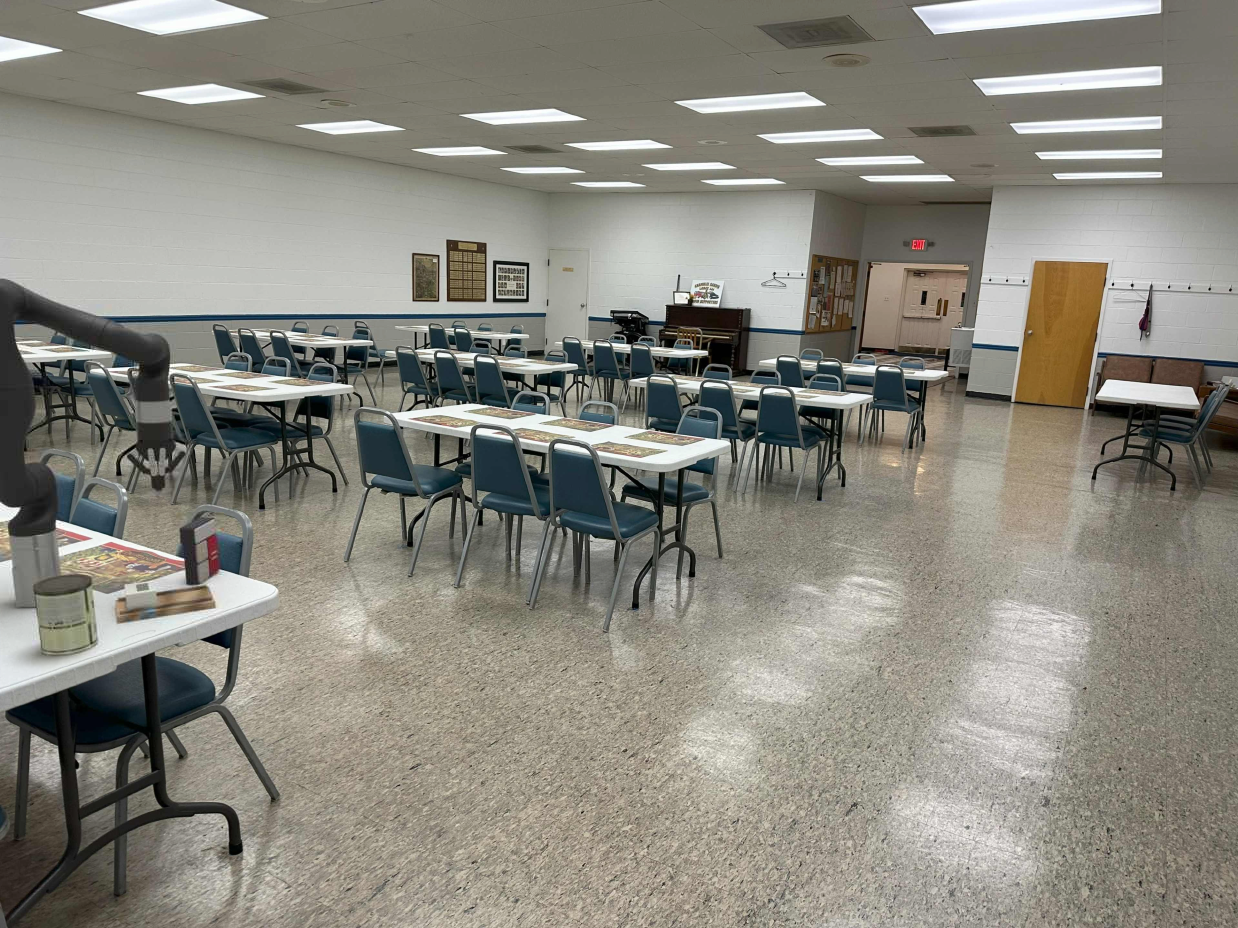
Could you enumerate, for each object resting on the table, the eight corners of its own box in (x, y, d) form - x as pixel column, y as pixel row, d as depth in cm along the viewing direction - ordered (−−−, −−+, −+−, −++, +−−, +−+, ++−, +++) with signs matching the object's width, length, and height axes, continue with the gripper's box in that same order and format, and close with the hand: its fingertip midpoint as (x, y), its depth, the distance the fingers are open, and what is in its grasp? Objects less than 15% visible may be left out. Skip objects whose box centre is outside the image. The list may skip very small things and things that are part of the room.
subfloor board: (117, 623, 189) (116, 613, 189) (115, 606, 199) (114, 596, 199) (215, 607, 200) (214, 598, 199) (209, 591, 210) (208, 583, 209)
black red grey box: (200, 585, 214) (195, 528, 211) (183, 584, 214) (178, 527, 211) (221, 571, 225) (217, 517, 222) (205, 570, 225) (201, 516, 222)
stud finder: (127, 611, 192) (125, 594, 191) (125, 600, 198) (124, 584, 197) (157, 607, 195) (156, 590, 194) (154, 596, 201) (153, 580, 200)
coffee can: (33, 646, 176) (25, 582, 173) (88, 632, 184) (81, 570, 181) (50, 660, 170) (42, 594, 167) (106, 645, 178) (100, 581, 175)
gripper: (122, 422, 193) (127, 496, 196) (186, 420, 200) (190, 491, 203) (121, 417, 199) (126, 488, 202) (183, 415, 206) (187, 484, 209)
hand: (158, 490), depth 203 cm, fingers closed
